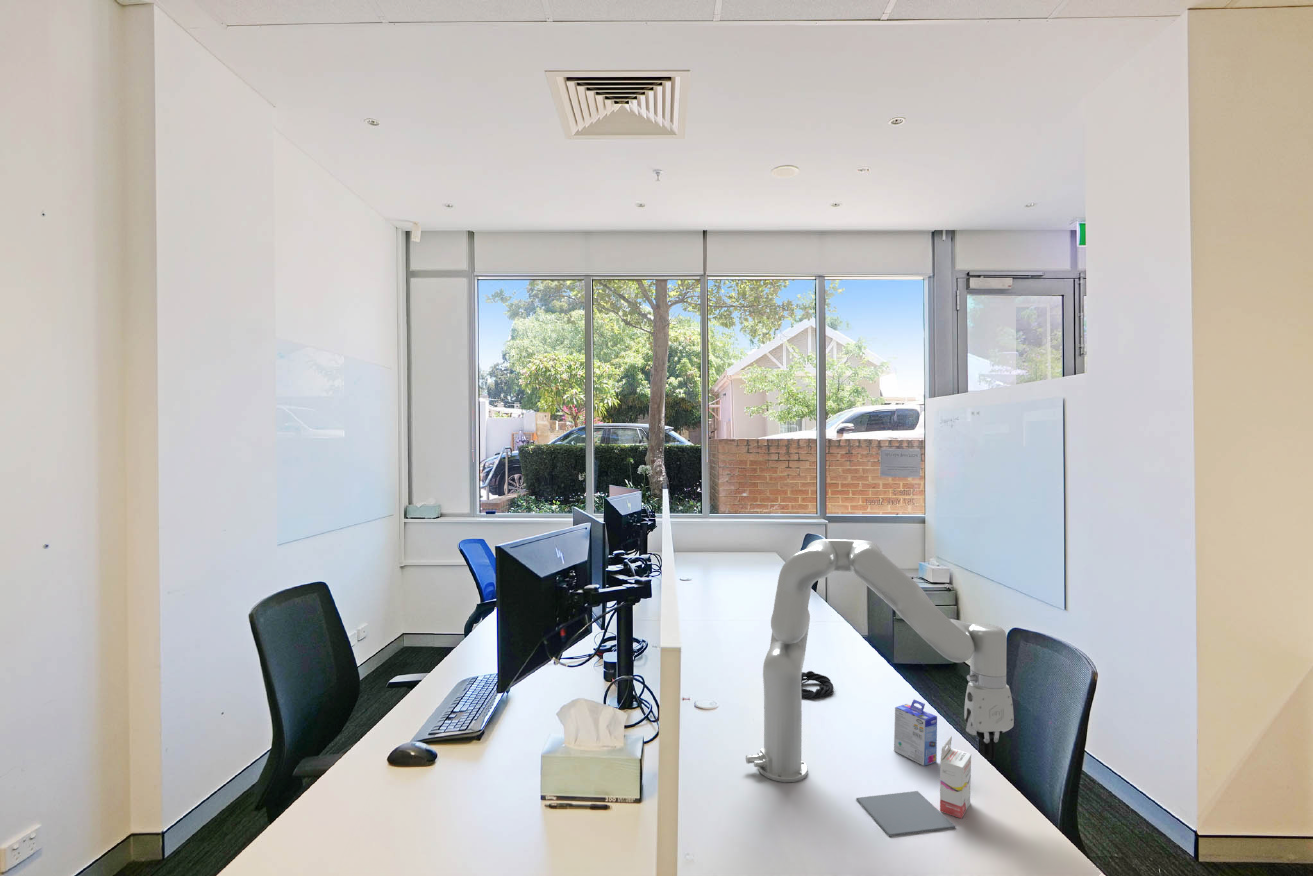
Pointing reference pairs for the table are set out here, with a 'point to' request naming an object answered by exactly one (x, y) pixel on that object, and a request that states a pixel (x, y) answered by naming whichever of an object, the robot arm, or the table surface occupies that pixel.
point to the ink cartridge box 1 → (915, 733)
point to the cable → (822, 690)
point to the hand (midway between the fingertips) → (987, 756)
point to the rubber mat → (904, 813)
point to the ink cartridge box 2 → (954, 780)
